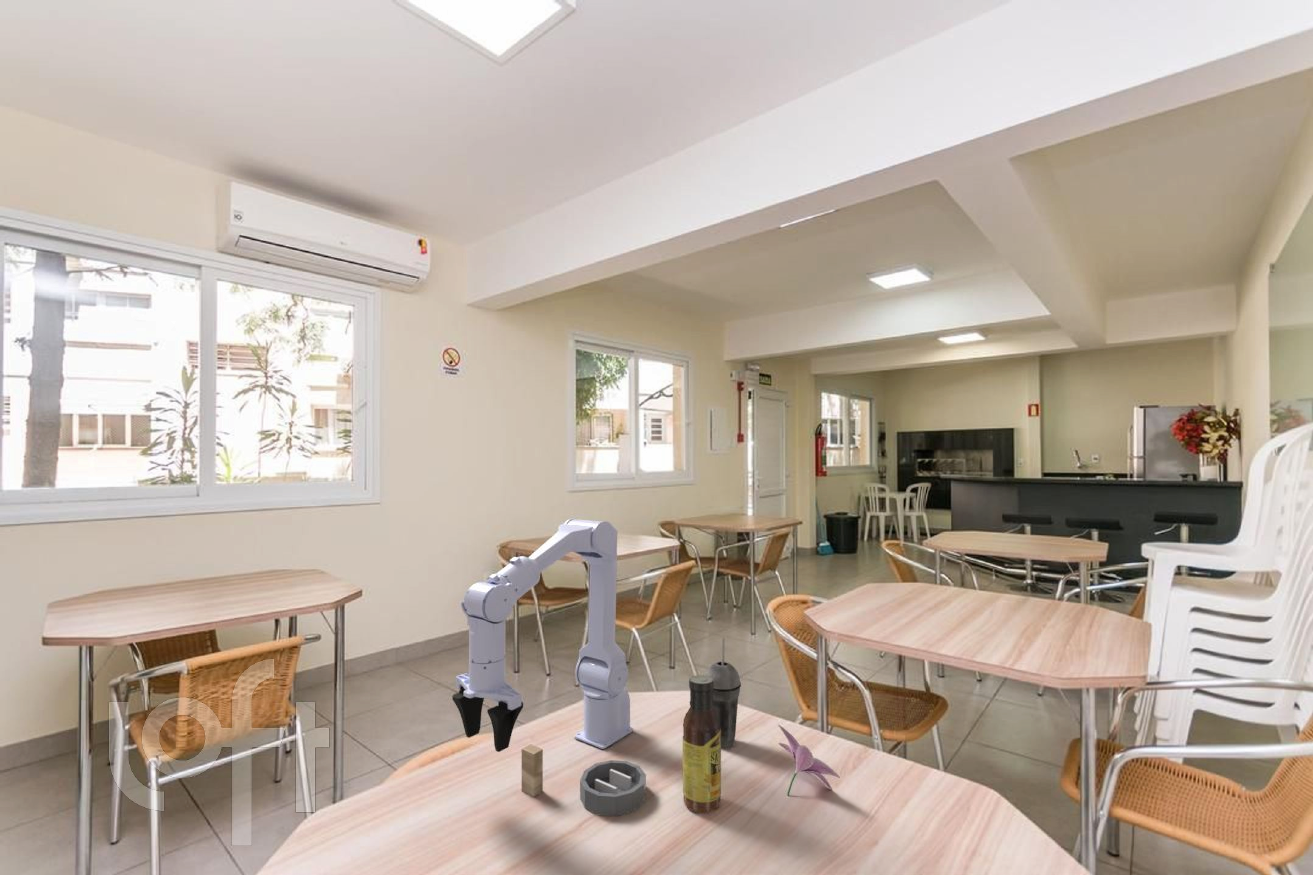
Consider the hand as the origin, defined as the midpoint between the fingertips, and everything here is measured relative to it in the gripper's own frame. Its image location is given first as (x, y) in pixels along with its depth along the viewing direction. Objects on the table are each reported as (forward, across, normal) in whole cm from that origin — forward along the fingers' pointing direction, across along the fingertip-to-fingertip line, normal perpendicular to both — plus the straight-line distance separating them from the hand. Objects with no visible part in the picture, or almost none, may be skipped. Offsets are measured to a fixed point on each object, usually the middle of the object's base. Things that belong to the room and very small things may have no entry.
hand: (487, 741), depth 95 cm
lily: (+10, +40, +35) cm, 54 cm away
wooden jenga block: (+10, +3, +7) cm, 13 cm away
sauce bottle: (+10, +28, +21) cm, 36 cm away
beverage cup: (+10, +21, +40) cm, 46 cm away
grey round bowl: (+10, +15, +14) cm, 23 cm away
